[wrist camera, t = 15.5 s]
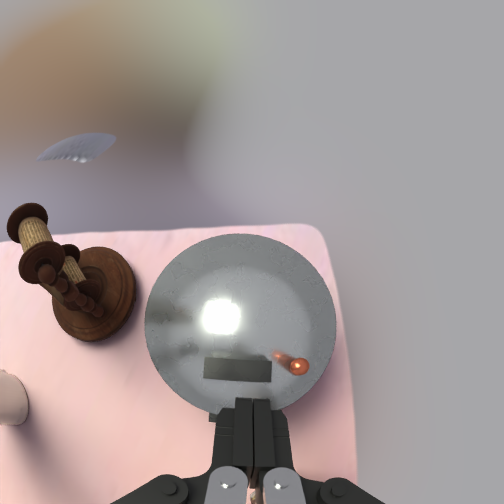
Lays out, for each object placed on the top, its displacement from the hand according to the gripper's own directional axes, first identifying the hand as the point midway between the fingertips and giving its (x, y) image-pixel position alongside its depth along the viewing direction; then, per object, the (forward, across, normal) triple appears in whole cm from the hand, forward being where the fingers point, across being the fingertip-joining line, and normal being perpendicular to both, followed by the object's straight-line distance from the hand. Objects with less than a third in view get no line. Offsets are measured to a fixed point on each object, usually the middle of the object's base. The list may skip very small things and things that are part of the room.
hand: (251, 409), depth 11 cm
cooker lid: (+16, 0, -5) cm, 17 cm away
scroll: (+26, -23, -10) cm, 36 cm away
